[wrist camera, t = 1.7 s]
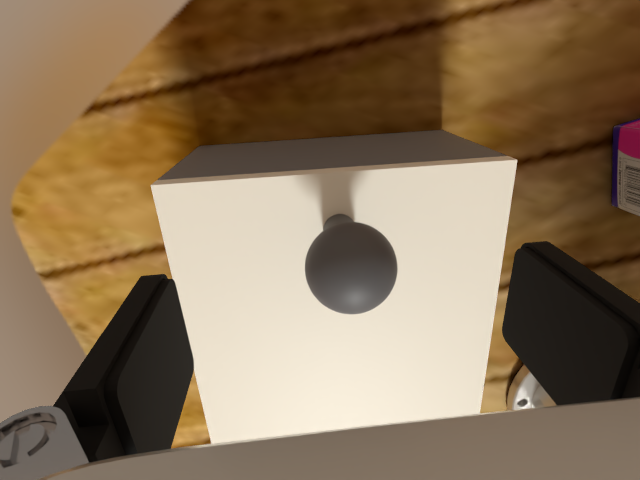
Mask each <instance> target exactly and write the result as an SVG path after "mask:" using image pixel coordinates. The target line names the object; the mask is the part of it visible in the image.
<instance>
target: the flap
mask: <svg viewBox="0 0 640 480" xmlns="http://www.w3.org/2000/svg"><path fill="white" fill-rule="evenodd" d="M516 166H517V159H514V158H512V157H509V156H499V157H484V158H470V159H455V160H441V161H426V162H412V163H398V164H383V165H369V166H354V167H340V168H325V169H311V170H296V171H282V172H268V173H253V174H239V175H224V176H210V177H195V178H181V179H166V180H157V181H155V182H154V183H153V184H152V185H151V189H152V193H153V198H154V202H155V206H156V210H157V214H158V219H159V223H160V227H161V231H162V236H163V240H164V244H165V248H166V253H167V257H168V261H169V265H170V270H171V274H172V278H173V280H174V281H175V284H176V288H177V292H178V296H179V300H180V305H181V309H182V313H183V317H184V321H185V325H186V329H187V334H188V338H189V342H190V346H191V350H192V354H193V359H194V371H195V376H196V380H197V384H198V388H199V393H200V397H201V401H202V405H203V410H204V414H205V418H206V422H207V426H208V431H209V435H210V439H211V443H212V444H214V443H222V442H231V441H240V440H248V439H257V438H266V437H274V436H283V435H292V434H300V433H309V432H318V431H326V430H335V429H344V428H352V427H361V426H370V425H380V424H389V423H398V422H407V421H416V420H425V419H434V418H443V417H452V416H462V415H471V414H480V408H481V401H482V395H483V388H484V381H485V375H486V368H487V361H488V354H489V348H490V341H491V334H492V328H493V321H494V314H495V307H496V301H497V294H498V287H499V281H500V274H501V267H502V260H503V254H504V247H505V240H506V234H507V227H508V220H509V213H510V207H511V200H512V193H513V187H514V180H515V173H516Z"/></svg>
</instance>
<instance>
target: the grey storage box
mask: <svg viewBox="0 0 640 480" xmlns="http://www.w3.org/2000/svg"><path fill="white" fill-rule="evenodd" d="M499 156H507V155H504V154H502V153H499V152H497V151H494V150H492V149H489V148H487V147H484V146H482V145H479V144H477V143H474V142H471V141H469V140H466V139H464V138H461V137H459V136H456V135H454V134H451V133H449V132H446V131H444V130H432V131H417V132H402V133H387V134H372V135H357V136H342V137H327V138H312V139H297V140H282V141H267V142H252V143H236V144H221V145H206V146H199V147H197V148H196V149H195V150H194V151H193V152H191V153H190V154H189V155H188V156H186V157H185V158H184V159H183V160H181V161H180V162H179V163H178V164H176V165H175V166H174V167H173V168H171V169H170V170H169V171H168V172H166V173H165V174H164V175H163V176H162V177H160V178H159V179H158V180H166V179H181V178H195V177H210V176H224V175H239V174H253V173H268V172H282V171H296V170H311V169H325V168H340V167H354V166H369V165H383V164H398V163H412V162H426V161H441V160H455V159H470V158H484V157H499Z"/></svg>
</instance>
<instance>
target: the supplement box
mask: <svg viewBox="0 0 640 480" xmlns="http://www.w3.org/2000/svg"><path fill="white" fill-rule="evenodd" d="M612 161H613V163H612V206H614V207H618V208H620V209H622V210H625V211H627V212H630V213H633V214H635V215H638V216H640V118H639V119H636V120H633V121H630V122H626V123H623V124H620V125H617V126H614V128H613V157H612Z"/></svg>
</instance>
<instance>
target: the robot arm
mask: <svg viewBox="0 0 640 480" xmlns="http://www.w3.org/2000/svg"><path fill="white" fill-rule="evenodd" d="M502 333H503V337H504V339H505V341H506V342H507V343H508V345H509V346H510V347H511V348H512V350H513V351H514V352H515V353H516V355H517V356H518V357H519V358H520V360H521V361H522V362H523V364H524V365H523V366H522V368H521V369H520V370H519V372H518V373H517V375H516V376H515V378H514V380H513V382H512V384H511V386H510V389H509V393H508V397H507V409H508V411H499V412H489V413H480V414H471V415H462V416H452V417H443V418H434V419H425V420H416V421H407V422H398V423H389V424H380V425H370V426H361V427H352V428H344V429H335V430H326V431H318V432H309V433H300V434H292V435H283V436H274V437H266V438H257V439H248V440H240V441H231V442H222V443H214V444H205V445H196V446H188V447H180V448H173V449H171V445H172V442H173V439H174V435H175V432H176V429H177V425H178V422H179V418H180V415H181V412H182V408H183V405H184V402H185V398H186V395H187V391H188V388H189V385H190V381H191V378H192V374H193V370H194V359H193V354H192V350H191V346H190V342H189V338H188V334H187V329H186V325H185V321H184V317H183V313H182V309H181V305H180V300H179V296H178V292H177V288H176V284H175V281H174V280H173V279H168V278H167V276H166V275H165V274H160V275H149V276H141V277H140V278H139V280H138V281H137V283H136V284H135V286H134V287H133V289H132V290H131V292H130V293H129V295H128V296H127V298H126V299H125V301H124V302H123V304H122V305H121V307H120V308H119V310H118V311H117V313H116V314H115V316H114V317H113V319H112V320H111V321H110V323H109V324H108V326H107V327H106V329H105V330H104V332H103V333H102V334H101V336H100V337H99V339H98V340H97V342H96V343H95V345H94V346H93V348H92V349H91V351H90V352H89V354H88V355H87V357H86V358H85V359H84V361H83V362H82V364H81V366H80V367H79V368H78V370H77V372H76V373H75V375H74V376H73V377H72V379H71V380H70V382H69V383H68V385H67V386H66V388H65V389H64V391H63V392H62V394H61V395H60V397H59V398H58V400H57V401H56V402H55V404H54V405H53V406H39V407H35V408H31V409H27V410H24V411H22V412H20V413H17V414H15V415H13V416H11V417H9V418H7V419H6V420H4V421H2V422H1V423H0V480H640V303H638V302H637V301H635V300H634V299H632V298H631V297H629V296H628V295H627V294H625V293H624V292H622V291H621V290H619V289H618V288H616V287H615V286H613V285H612V284H610V283H609V282H607V281H606V280H604V279H603V278H601V277H600V276H598V275H597V274H595V273H594V272H592V271H591V270H590V269H588V268H587V267H585V266H584V265H582V264H581V263H579V262H578V261H576V260H575V259H573V258H572V257H570V256H569V255H567V254H566V253H564V252H563V251H561V250H560V249H558V248H557V247H556V246H554V245H553V244H551V243H550V242H547V241H543V242H532V243H525V244H523V245H522V247H521V249H518V250H517V251H516V253H515V257H514V263H513V269H512V275H511V280H510V286H509V292H508V298H507V303H506V309H505V315H504V321H503V326H502Z"/></svg>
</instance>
